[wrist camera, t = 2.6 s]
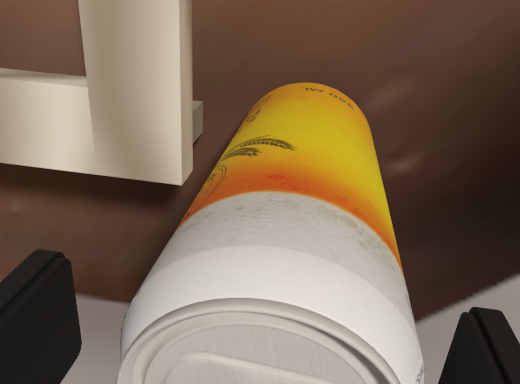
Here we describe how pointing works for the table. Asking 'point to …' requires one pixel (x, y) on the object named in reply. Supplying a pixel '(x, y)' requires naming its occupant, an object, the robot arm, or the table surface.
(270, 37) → the table surface
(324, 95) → the beer can
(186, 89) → the birch stand
